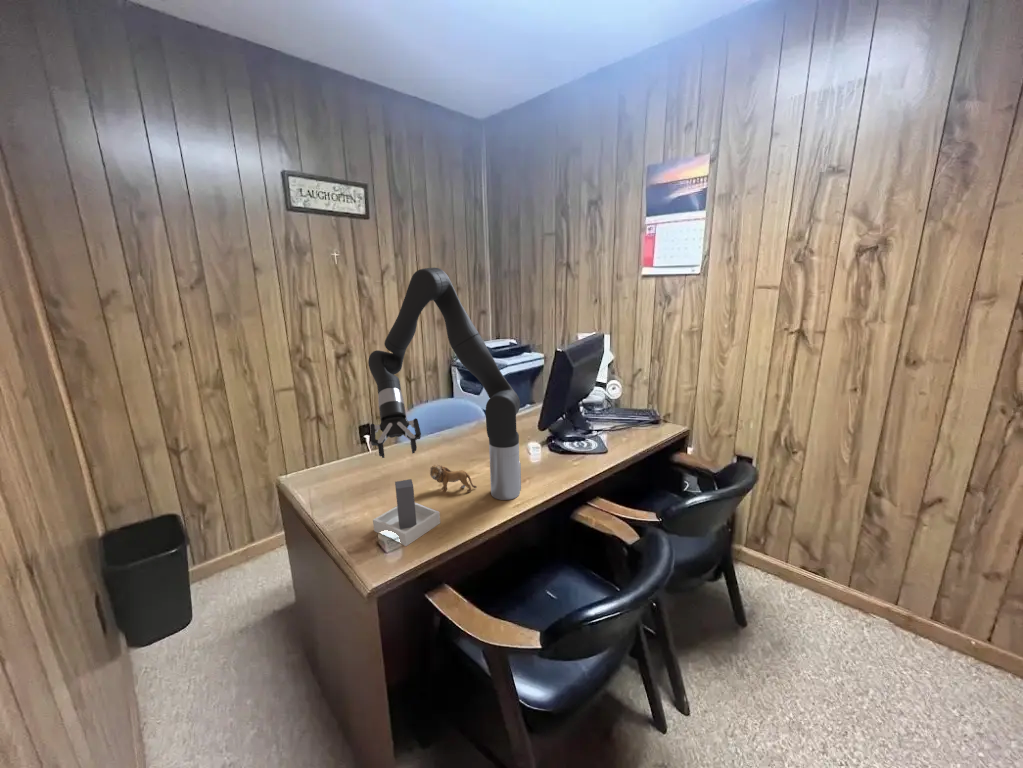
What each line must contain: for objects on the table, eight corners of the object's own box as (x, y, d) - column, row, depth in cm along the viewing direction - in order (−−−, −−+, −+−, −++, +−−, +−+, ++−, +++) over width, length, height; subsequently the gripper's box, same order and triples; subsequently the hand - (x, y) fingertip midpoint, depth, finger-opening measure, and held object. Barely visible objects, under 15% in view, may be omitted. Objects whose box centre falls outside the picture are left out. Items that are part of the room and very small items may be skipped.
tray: (409, 510, 125) (408, 499, 124) (440, 523, 118) (439, 511, 117) (374, 531, 114) (372, 519, 114) (406, 546, 107) (404, 534, 107)
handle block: (414, 518, 119) (411, 479, 116) (416, 526, 114) (413, 486, 112) (398, 521, 117) (395, 481, 114) (400, 529, 113) (396, 488, 110)
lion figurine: (430, 495, 133) (428, 469, 131) (432, 487, 138) (430, 462, 136) (476, 492, 134) (475, 466, 132) (476, 484, 140) (475, 459, 137)
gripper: (366, 402, 124) (372, 453, 116) (415, 397, 128) (424, 445, 121) (368, 414, 130) (373, 463, 122) (414, 409, 135) (422, 455, 127)
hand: (398, 454), depth 121 cm, fingers open, 8 cm apart
